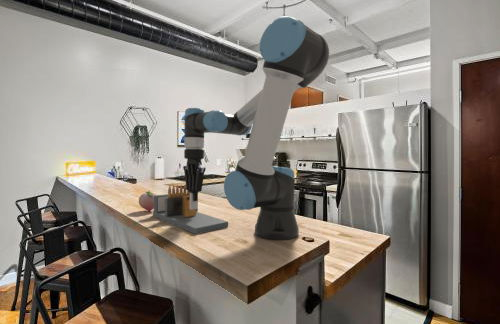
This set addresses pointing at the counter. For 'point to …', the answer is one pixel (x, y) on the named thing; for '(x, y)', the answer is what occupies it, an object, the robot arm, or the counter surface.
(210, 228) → the vise base
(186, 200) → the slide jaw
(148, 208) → the decorative fruit
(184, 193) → the ammunition clip
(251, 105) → the robot arm
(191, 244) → the counter surface
